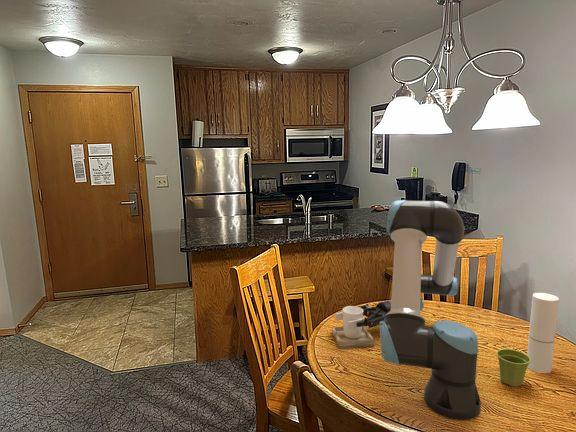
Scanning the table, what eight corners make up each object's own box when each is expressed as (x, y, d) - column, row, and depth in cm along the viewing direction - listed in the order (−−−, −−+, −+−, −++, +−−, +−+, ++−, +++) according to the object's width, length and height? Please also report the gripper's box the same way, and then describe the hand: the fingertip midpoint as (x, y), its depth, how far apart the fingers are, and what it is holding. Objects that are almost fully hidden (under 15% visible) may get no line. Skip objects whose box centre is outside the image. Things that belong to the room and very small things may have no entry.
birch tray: (374, 346, 148) (374, 340, 148) (339, 348, 147) (339, 342, 147) (363, 330, 161) (363, 325, 161) (331, 332, 160) (331, 326, 160)
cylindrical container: (553, 367, 133) (560, 296, 129) (548, 376, 127) (556, 302, 123) (529, 360, 137) (535, 291, 133) (523, 368, 132) (530, 297, 128)
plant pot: (488, 373, 130) (490, 348, 128) (518, 373, 130) (520, 348, 128) (503, 390, 121) (505, 363, 119) (534, 390, 120) (537, 364, 119)
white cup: (362, 339, 149) (363, 314, 148) (341, 338, 151) (341, 313, 149) (363, 330, 157) (363, 306, 155) (343, 329, 159) (343, 305, 157)
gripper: (407, 328, 152) (358, 342, 142) (373, 309, 170) (327, 320, 161) (407, 310, 151) (358, 322, 141) (373, 293, 169) (327, 302, 159)
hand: (342, 321), depth 151 cm, fingers open, 8 cm apart
